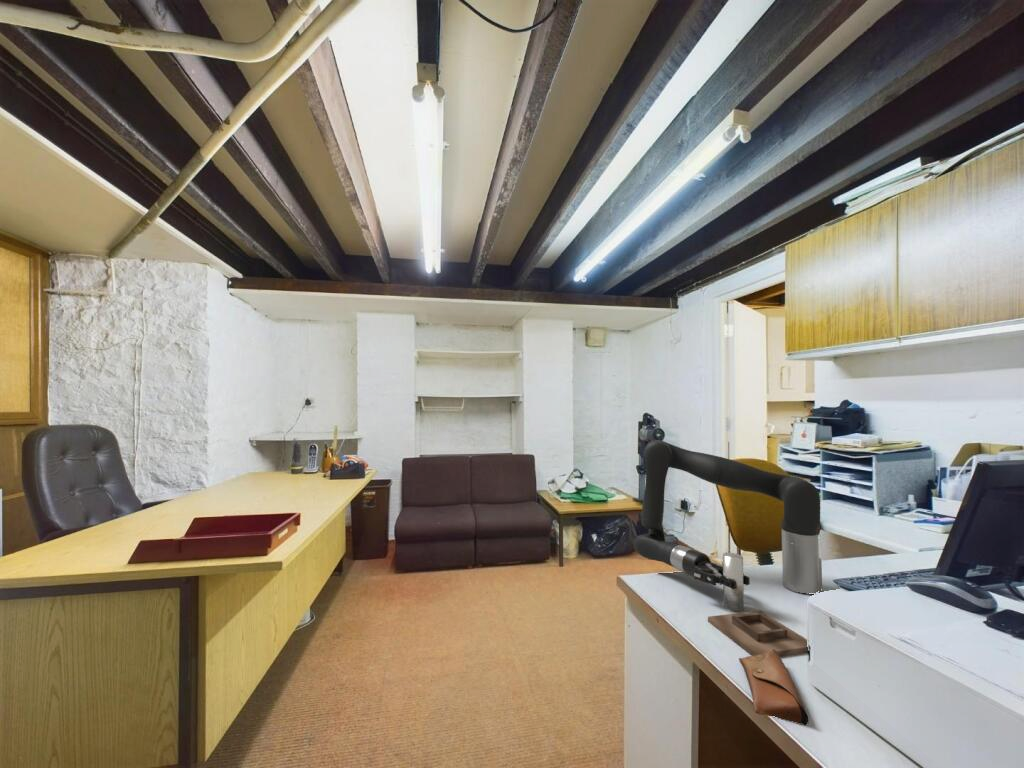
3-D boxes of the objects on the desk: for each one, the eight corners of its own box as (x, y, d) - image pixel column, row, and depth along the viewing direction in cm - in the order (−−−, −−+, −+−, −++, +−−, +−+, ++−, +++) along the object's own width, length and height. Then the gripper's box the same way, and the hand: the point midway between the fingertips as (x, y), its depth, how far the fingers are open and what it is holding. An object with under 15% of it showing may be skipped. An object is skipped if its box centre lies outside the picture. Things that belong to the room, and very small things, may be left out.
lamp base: (760, 615, 108) (760, 603, 109) (816, 651, 93) (816, 637, 93) (707, 621, 105) (707, 609, 105) (757, 659, 89) (756, 645, 90)
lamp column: (734, 602, 115) (733, 552, 116) (748, 610, 111) (747, 558, 111) (719, 603, 114) (718, 553, 115) (732, 612, 110) (731, 560, 110)
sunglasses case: (735, 655, 91) (752, 632, 90) (766, 678, 89) (784, 654, 88) (754, 714, 74) (775, 685, 73) (794, 743, 72) (816, 715, 71)
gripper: (673, 552, 122) (725, 574, 107) (705, 545, 129) (758, 564, 114) (673, 578, 122) (725, 603, 107) (705, 569, 129) (758, 592, 113)
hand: (742, 583), depth 110 cm, fingers closed on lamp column, 5 cm apart
